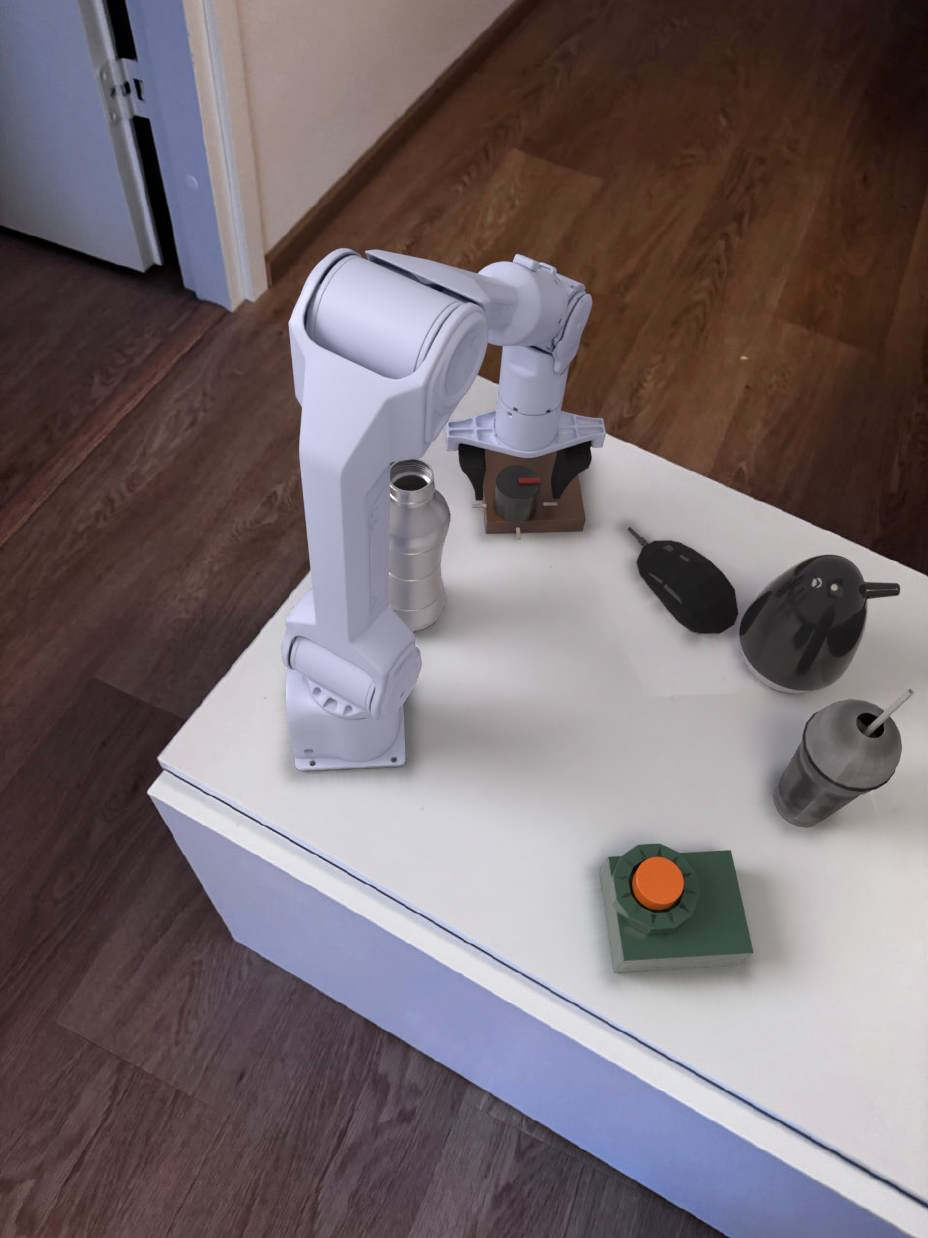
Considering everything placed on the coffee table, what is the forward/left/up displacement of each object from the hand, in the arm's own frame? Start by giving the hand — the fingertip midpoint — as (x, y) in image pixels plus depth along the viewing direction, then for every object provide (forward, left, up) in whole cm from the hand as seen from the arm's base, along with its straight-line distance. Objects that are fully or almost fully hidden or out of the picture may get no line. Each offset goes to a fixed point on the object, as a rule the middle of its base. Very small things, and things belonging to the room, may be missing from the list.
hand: (517, 491), depth 96 cm
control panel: (+1, +2, -4) cm, 5 cm away
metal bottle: (-11, -11, -4) cm, 16 cm away
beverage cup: (+22, -32, -4) cm, 39 cm away
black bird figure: (+24, -18, -4) cm, 30 cm away
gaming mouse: (+15, -8, -4) cm, 18 cm away
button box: (+9, -41, -4) cm, 42 cm away
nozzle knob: (0, 0, -2) cm, 2 cm away
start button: (+7, -40, +2) cm, 41 cm away
